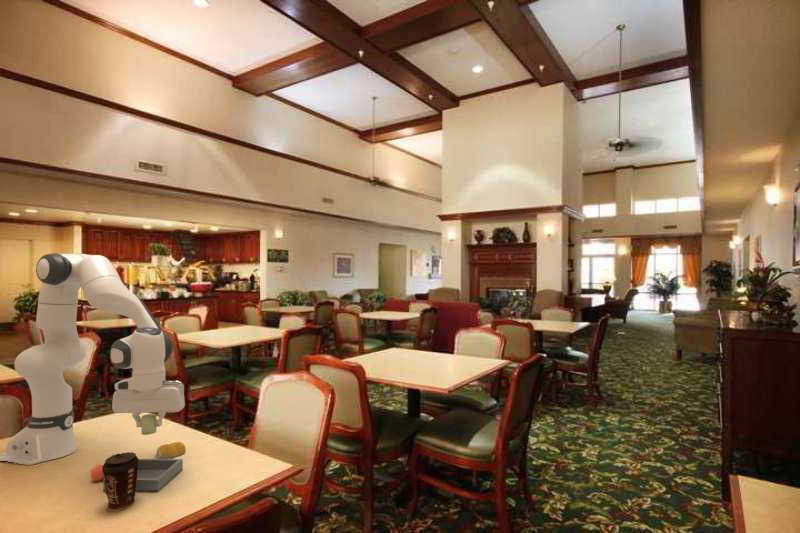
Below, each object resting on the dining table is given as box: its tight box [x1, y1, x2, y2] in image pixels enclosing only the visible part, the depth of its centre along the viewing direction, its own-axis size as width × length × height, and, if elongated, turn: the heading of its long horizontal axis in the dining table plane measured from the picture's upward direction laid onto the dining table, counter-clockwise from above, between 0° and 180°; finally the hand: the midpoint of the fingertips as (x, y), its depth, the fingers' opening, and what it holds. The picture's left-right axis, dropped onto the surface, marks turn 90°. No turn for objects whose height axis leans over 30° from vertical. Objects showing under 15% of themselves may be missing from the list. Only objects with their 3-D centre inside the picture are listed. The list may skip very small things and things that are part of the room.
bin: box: [102, 458, 184, 493], centre depth 133 cm, size 16×14×4 cm
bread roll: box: [155, 441, 186, 459], centre depth 153 cm, size 8×9×4 cm
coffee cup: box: [102, 451, 140, 512], centre depth 120 cm, size 9×8×13 cm
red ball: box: [90, 464, 105, 482], centre depth 134 cm, size 4×4×4 cm
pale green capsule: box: [140, 413, 158, 436], centre depth 133 cm, size 4×4×5 cm
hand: (149, 426), depth 134 cm, fingers closed on pale green capsule, 4 cm apart
